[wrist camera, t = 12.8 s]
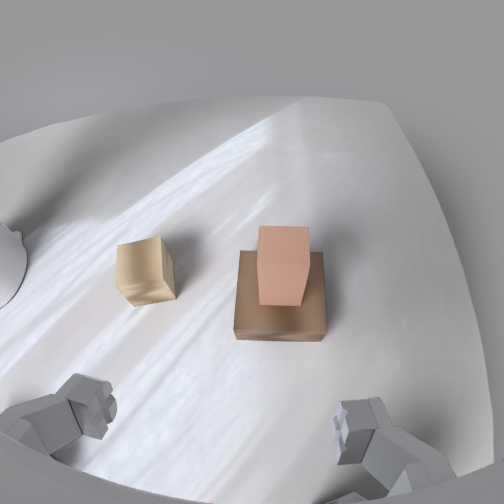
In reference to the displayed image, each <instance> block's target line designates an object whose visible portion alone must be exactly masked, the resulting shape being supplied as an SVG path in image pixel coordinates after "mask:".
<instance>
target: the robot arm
mask: <svg viewBox="0 0 504 504" xmlns="http://www.w3.org/2000/svg"><path fill="white" fill-rule="evenodd" d="M26 266H27V253H26V250H25V248H24V246H23V244H22V234H21V233H20V232H19V231H14V232H11V231H10V230H9V229H8V228H7V227H6V226H5V225H4V224H3V223H2V222H1V221H0V308H1V307H3V306H4V305H5V304H6V303H8V302H9V301H10V299H11V298H12V297H13V296H14V294H15V293H16V291H17V290H18V288H19V286H20V284H21V282H22V280H23V277H24V274H25V270H26ZM112 391H113V389H112V386H111V383H110V382H108V381H105V380H101V379H97V378H93V377H90V376H85V375H82V374H78V373H75V374H73V375H72V376H71V377H70V378H69V379H68V380H67V382H66V383H65V384H64V385H63V386H62V387H61V388H60V389H59V390H58V391H57V392H56V393H55V395H53V394H50V395H47V396H44V397H41V398H38V399H35V400H32V401H29V402H26V403H23V404H20V405H17V406H14V407H11V408H7V409H5V410H4V411H3V412H2V413H1V415H0V504H212V503H204V502H197V501H191V500H185V499H179V498H174V497H169V496H164V495H160V494H155V493H151V492H147V491H143V490H139V489H135V488H132V487H128V486H125V485H121V484H118V483H115V482H111V481H108V480H105V479H102V478H99V477H97V476H94V475H91V474H88V473H86V472H83V471H80V470H78V469H75V468H73V467H70V466H68V465H66V464H63V463H61V462H59V461H56V460H54V459H52V458H50V456H49V455H50V454H52V453H54V452H55V451H57V450H59V449H61V448H62V447H64V446H66V445H67V444H69V443H71V442H73V441H74V440H76V439H78V438H79V437H81V436H83V435H86V436H89V437H93V438H96V439H100V440H102V438H103V436H104V435H105V433H106V432H107V430H108V426H107V424H108V423H110V422H112V421H113V420H114V418H115V416H116V412H117V403H116V399H115V398H114V397H113V396H112V395H111V392H112ZM336 413H337V415H336V416H335V417H334V418H333V422H332V430H331V434H332V441H333V443H334V444H335V445H336V448H335V451H334V452H335V457H336V462H337V465H345V464H357V463H361V465H362V466H363V467H364V468H365V469H366V470H367V471H368V472H369V473H370V474H371V475H372V476H373V477H375V478H376V479H377V480H378V481H379V482H380V483H381V484H382V485H383V486H384V487H385V488H386V489H387V490H389V491H390V492H389V494H388V495H387V496H386V497H385V498H380V499H374V500H368V501H362V502H355V503H347V504H504V459H502V460H500V461H497V462H495V463H493V464H491V465H488V466H486V467H484V468H481V469H479V470H477V471H474V472H472V473H469V474H466V475H464V476H461V477H458V478H457V477H456V475H455V473H454V471H453V469H452V467H451V465H450V463H449V461H448V459H447V457H446V455H445V454H443V453H442V452H440V451H438V450H436V449H435V448H433V447H431V446H429V445H428V444H426V443H424V442H423V441H421V440H419V439H418V438H416V437H414V436H413V435H411V434H409V433H408V432H406V431H404V430H403V429H401V428H400V427H398V426H396V427H394V426H393V424H392V422H391V419H390V417H389V415H388V413H387V410H386V408H385V406H384V404H383V402H382V400H381V398H379V397H377V398H368V399H359V400H345V401H338V403H337V406H336ZM82 434H83V435H82Z"/></svg>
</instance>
